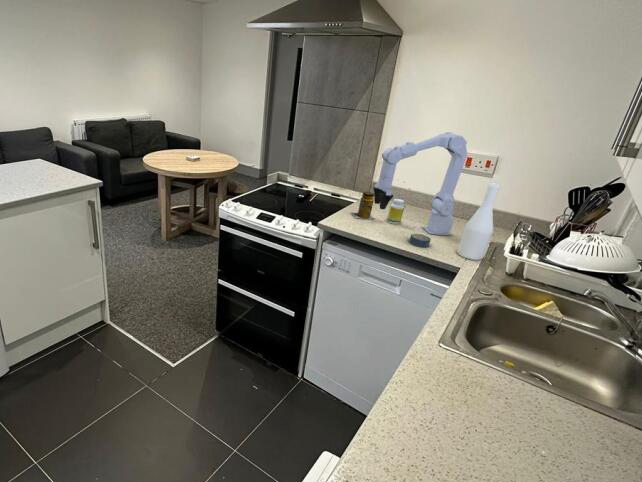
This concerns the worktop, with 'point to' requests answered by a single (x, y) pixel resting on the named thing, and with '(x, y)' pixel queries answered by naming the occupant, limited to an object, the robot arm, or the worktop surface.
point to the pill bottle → (395, 211)
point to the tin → (419, 240)
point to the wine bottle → (479, 228)
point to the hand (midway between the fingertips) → (379, 206)
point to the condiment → (365, 206)
